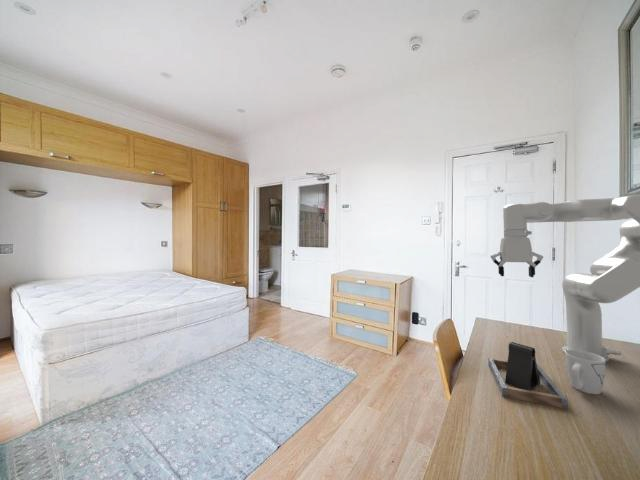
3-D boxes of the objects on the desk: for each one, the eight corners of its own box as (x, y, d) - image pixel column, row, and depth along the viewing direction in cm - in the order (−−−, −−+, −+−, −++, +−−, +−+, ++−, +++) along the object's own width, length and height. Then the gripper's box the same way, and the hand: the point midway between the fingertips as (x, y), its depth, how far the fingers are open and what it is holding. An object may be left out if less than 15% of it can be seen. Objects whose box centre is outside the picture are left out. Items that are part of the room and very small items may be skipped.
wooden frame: (538, 372, 85) (538, 365, 85) (567, 408, 67) (567, 399, 67) (488, 364, 91) (488, 357, 91) (502, 396, 73) (502, 387, 73)
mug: (596, 403, 69) (595, 367, 69) (556, 388, 76) (555, 355, 76) (611, 391, 74) (610, 357, 74) (572, 378, 82) (571, 347, 82)
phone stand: (527, 392, 74) (526, 351, 74) (504, 383, 79) (503, 345, 80) (540, 383, 79) (539, 345, 79) (517, 375, 84) (516, 339, 84)
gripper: (538, 234, 103) (539, 276, 102) (488, 235, 110) (489, 274, 109) (546, 233, 96) (547, 278, 96) (491, 234, 103) (493, 276, 103)
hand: (516, 276), depth 102 cm, fingers open, 9 cm apart
